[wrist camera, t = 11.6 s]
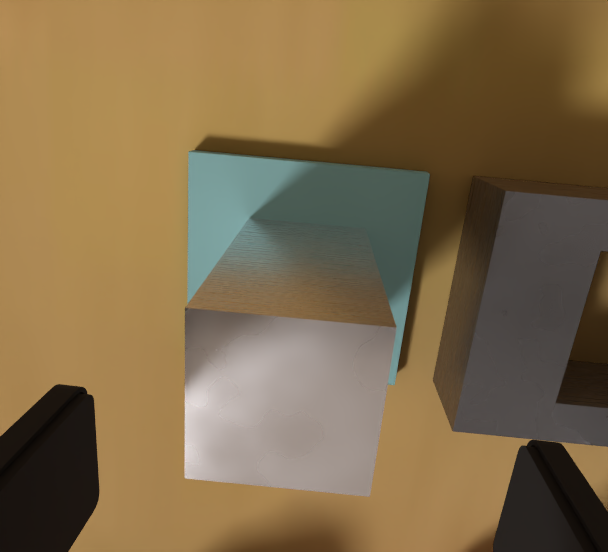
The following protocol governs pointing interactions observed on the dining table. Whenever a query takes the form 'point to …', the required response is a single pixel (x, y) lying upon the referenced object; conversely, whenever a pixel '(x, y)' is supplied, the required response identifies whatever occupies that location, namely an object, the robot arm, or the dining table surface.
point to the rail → (524, 314)
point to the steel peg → (288, 360)
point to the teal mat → (308, 212)
